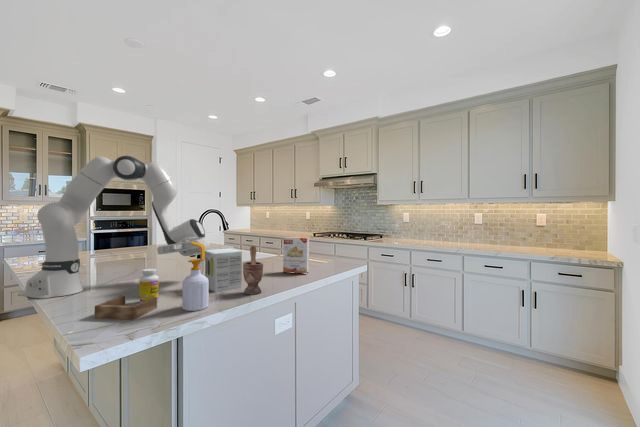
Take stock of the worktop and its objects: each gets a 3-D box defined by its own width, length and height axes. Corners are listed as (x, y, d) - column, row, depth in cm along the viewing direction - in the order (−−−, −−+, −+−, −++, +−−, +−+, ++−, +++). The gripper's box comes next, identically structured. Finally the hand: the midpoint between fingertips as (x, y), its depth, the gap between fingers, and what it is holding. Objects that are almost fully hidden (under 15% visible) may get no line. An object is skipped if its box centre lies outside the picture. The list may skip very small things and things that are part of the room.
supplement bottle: (150, 305, 118) (150, 271, 118) (135, 304, 120) (135, 270, 120) (162, 300, 125) (162, 268, 125) (148, 299, 126) (148, 267, 126)
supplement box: (204, 287, 147) (204, 250, 147) (230, 282, 156) (230, 248, 156) (214, 293, 137) (214, 253, 137) (242, 288, 146) (242, 251, 145)
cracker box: (282, 273, 178) (283, 237, 178) (285, 271, 184) (286, 236, 184) (306, 274, 176) (307, 237, 175) (308, 272, 182) (309, 236, 181)
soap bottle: (187, 304, 121) (187, 240, 120) (211, 303, 121) (211, 240, 121) (178, 311, 112) (178, 243, 111) (204, 311, 112) (204, 243, 112)
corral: (94, 317, 105) (94, 306, 105) (121, 306, 117) (121, 295, 117) (133, 319, 103) (133, 307, 103) (156, 307, 116) (156, 297, 116)
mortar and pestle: (238, 290, 142) (238, 246, 141) (256, 287, 146) (256, 245, 146) (246, 296, 132) (247, 249, 132) (265, 293, 137) (266, 248, 136)
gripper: (167, 243, 149) (147, 244, 135) (207, 236, 147) (192, 236, 133) (168, 256, 149) (149, 258, 135) (209, 250, 147) (193, 251, 133)
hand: (171, 247), depth 134 cm, fingers closed
